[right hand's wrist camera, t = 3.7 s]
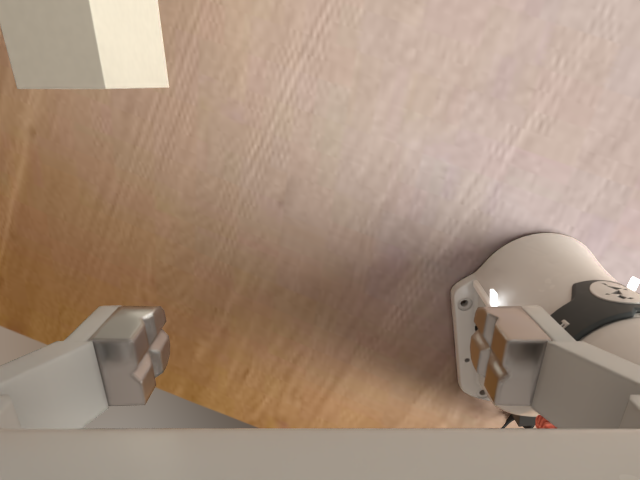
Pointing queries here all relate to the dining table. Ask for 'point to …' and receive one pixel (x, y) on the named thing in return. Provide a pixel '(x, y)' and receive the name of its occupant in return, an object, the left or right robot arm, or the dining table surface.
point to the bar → (84, 44)
